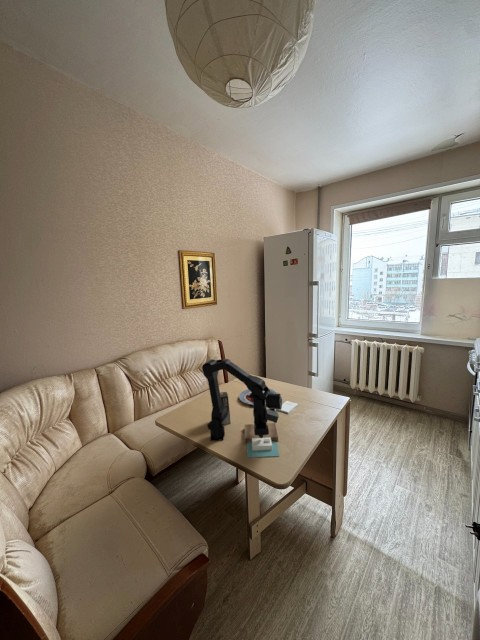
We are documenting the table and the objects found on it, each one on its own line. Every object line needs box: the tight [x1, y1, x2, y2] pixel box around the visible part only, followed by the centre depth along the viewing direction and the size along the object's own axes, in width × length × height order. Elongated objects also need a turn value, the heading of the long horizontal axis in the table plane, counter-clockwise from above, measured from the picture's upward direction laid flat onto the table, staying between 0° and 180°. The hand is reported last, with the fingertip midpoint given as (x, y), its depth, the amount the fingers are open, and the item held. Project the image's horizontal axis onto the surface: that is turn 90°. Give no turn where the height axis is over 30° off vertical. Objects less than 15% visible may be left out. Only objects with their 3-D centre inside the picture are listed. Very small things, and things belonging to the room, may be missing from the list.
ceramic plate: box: [238, 388, 278, 406], centre depth 163 cm, size 26×26×3 cm
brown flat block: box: [244, 422, 279, 444], centre depth 122 cm, size 16×12×2 cm
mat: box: [246, 441, 280, 459], centre depth 111 cm, size 14×10×1 cm
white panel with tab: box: [252, 437, 272, 450], centre depth 113 cm, size 9×6×3 cm, turn 89°
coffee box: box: [220, 391, 232, 425], centre depth 136 cm, size 9×6×16 cm
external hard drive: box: [275, 400, 299, 415], centre depth 147 cm, size 2×8×12 cm
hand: (261, 437), depth 115 cm, fingers closed
